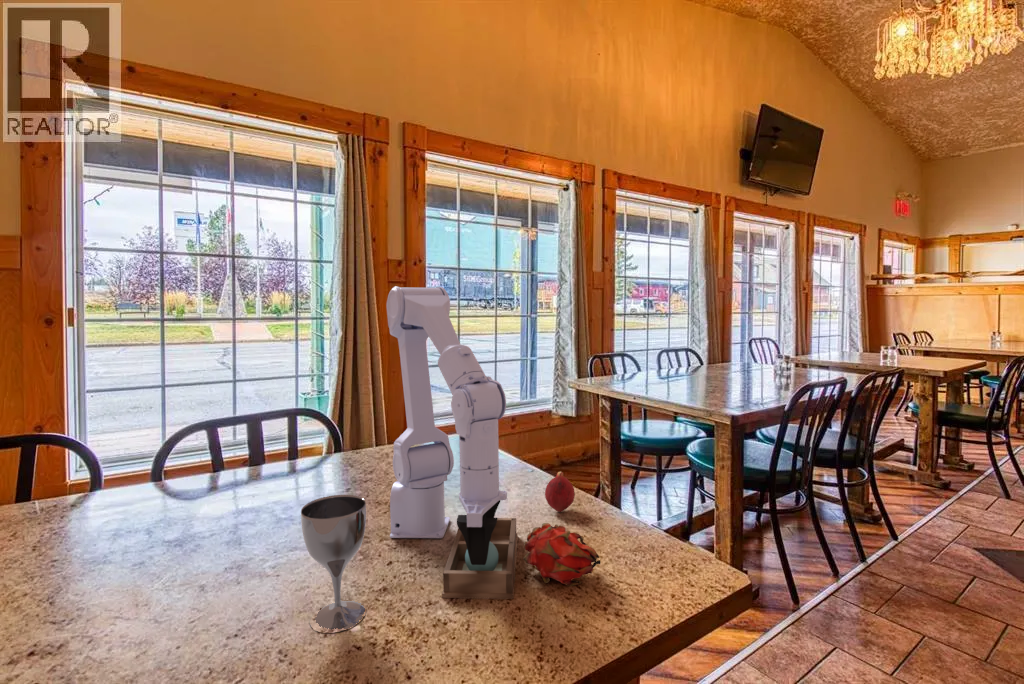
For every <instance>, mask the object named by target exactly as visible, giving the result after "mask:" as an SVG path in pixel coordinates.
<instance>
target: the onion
mask: <svg viewBox="0 0 1024 684" xmlns="http://www.w3.org/2000/svg"><path fill="white" fill-rule="evenodd" d="M544 491H545V492H544V498H545V500H546V502H547V504H548V506H549V507H551V508H552V509H553V510H555V511H556V512H557V513H562V512H564V511H565V510H566V509H567V510H568V508H569V507H570V506H572V504H573V502H574V500H575V494H576V493H575V488H574V486H573V484H572V482H571V481H570V480H569V479H568V478H567V477H565V476H564V473H563V472H562V471H558V472H557V473H556V476H554V477H553V478H551V479H550V480H549V481H548V483H547V485H546V487H545V490H544Z"/></svg>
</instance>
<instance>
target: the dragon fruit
mask: <svg viewBox="0 0 1024 684" xmlns="http://www.w3.org/2000/svg"><path fill="white" fill-rule="evenodd" d="M584 541H585V540H584V537H583V536H582V535H580V533H578V532H577V533H576V532H571V531H570V530H566V527H565V525H564V526H563V525H558V524H555V525H554V526H553V525H551V524H550V523H548V522H544V523H542V525H541V526H537V527H536V526H535V527H534V528H533V529H532V531H531V532H529V533H528V534H527V536H526V541H524V542H523V544H524V545H523V548H524V550H525V551H526V552H528V553H526V554H525V556H524V557H523V559H522V560H523V561H524V562H525V564H527V565H531V566H533V567H534V566H535V568H536V570H537V571H538V572H539V574H540V577H541V578H542V580H543V583H545V584H547V583H549V582H550V578H551V579H553V580H555V581H557V582H560V583H561V584H563V585H566V586H567V587H569V586H570V587H571V586H572V587H573V586H578V585H581V584H583V581H580V580H576V579H580V578H582V576H585V575H588V574H590V575H592V573H593V570H594V569H593V568H595V567H596V566H597V565H601V560H600V559H599V558H600V556H599V554H598V553H597V552H596V550H595V549H594V548H593V547H592V546H590V545H588V544H587V543H586V542H584ZM598 559H599V560H598ZM574 579H575V580H574Z"/></svg>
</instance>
